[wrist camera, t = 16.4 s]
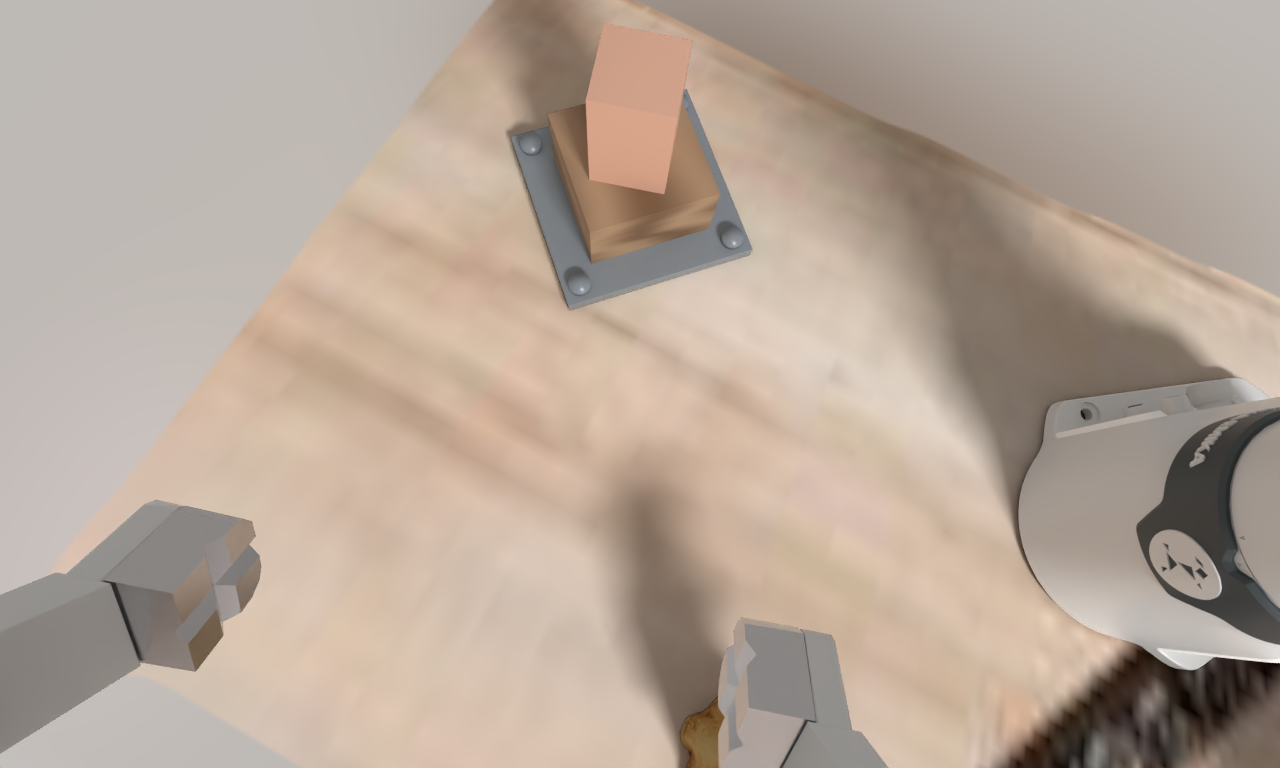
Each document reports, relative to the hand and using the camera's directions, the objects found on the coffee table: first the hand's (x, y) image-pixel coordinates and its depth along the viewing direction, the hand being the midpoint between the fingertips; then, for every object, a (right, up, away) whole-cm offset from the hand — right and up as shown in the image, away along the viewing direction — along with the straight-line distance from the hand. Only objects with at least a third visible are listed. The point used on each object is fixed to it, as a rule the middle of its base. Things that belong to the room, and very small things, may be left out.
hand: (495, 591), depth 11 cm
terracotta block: (+2, +19, +33) cm, 38 cm away
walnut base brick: (+2, +18, +37) cm, 41 cm away
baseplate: (+2, +17, +38) cm, 42 cm away
